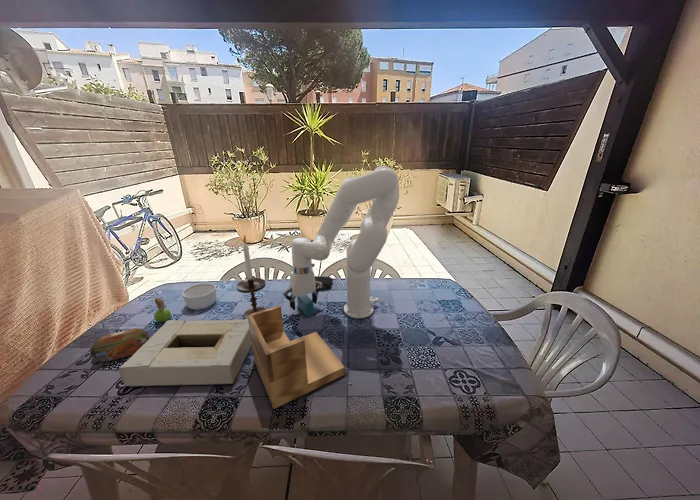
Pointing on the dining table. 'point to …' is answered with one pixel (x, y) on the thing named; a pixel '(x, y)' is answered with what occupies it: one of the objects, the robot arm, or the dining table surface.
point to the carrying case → (324, 281)
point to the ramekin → (200, 296)
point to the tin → (119, 344)
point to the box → (190, 354)
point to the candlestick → (250, 283)
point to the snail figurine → (161, 311)
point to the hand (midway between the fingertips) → (303, 305)
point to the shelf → (289, 358)
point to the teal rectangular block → (305, 305)
